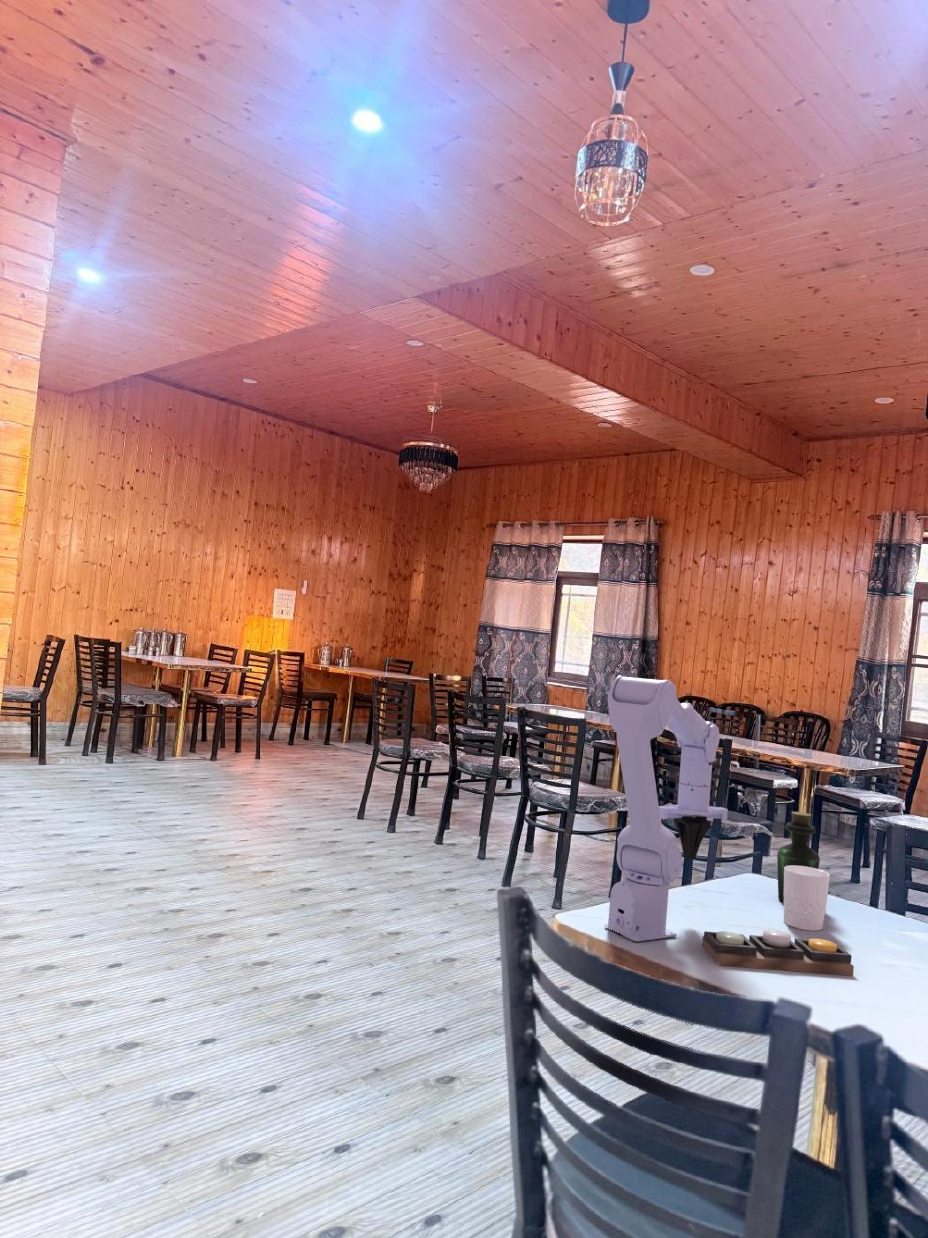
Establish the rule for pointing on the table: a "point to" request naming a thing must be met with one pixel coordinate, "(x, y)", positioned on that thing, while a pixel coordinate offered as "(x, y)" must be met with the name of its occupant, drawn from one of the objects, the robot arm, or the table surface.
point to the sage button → (729, 938)
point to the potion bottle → (796, 848)
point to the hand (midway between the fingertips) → (689, 857)
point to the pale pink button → (776, 938)
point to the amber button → (822, 945)
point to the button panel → (778, 956)
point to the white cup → (805, 897)
